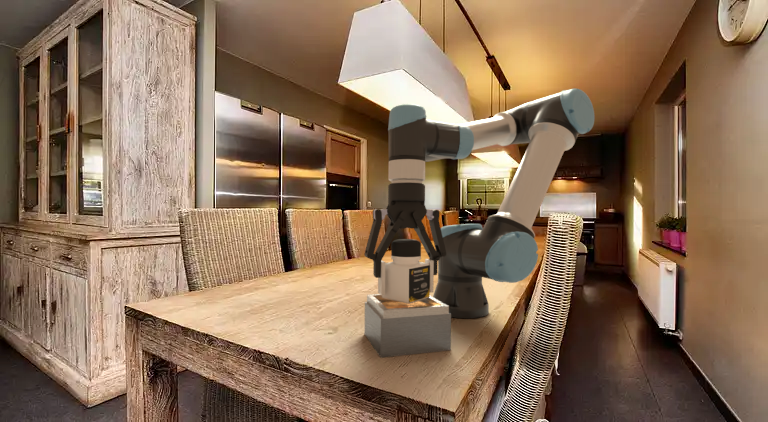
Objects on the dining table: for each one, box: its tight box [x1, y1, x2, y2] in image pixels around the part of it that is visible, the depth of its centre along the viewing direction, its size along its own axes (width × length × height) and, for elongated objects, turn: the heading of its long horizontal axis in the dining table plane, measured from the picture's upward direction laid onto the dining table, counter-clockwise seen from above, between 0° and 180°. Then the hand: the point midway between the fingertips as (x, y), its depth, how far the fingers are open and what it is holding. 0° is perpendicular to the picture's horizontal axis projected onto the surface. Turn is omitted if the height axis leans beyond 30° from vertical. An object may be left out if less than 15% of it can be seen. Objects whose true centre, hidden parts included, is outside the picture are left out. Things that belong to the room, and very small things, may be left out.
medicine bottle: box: [382, 238, 431, 304], centre depth 74 cm, size 7×7×12 cm
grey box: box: [364, 293, 452, 358], centre depth 74 cm, size 14×13×8 cm
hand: (405, 292), depth 74 cm, fingers closed on medicine bottle, 10 cm apart
